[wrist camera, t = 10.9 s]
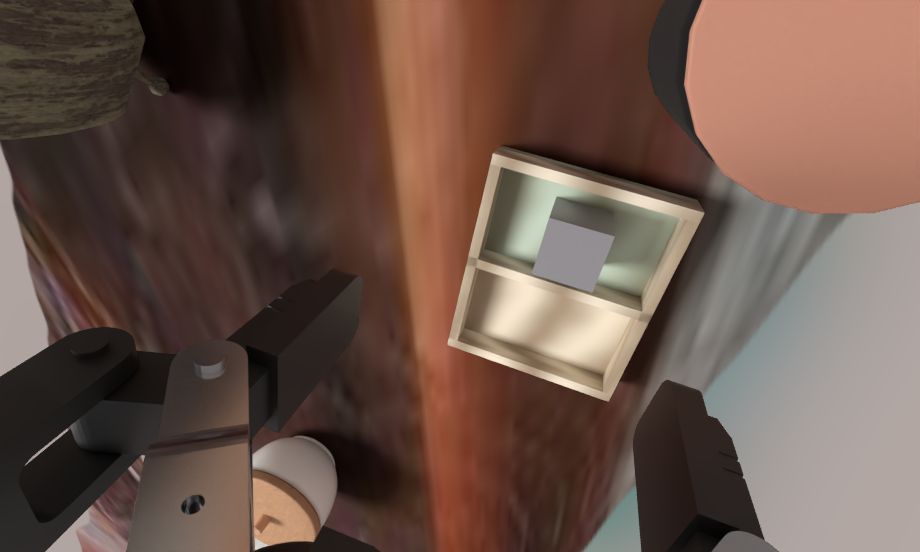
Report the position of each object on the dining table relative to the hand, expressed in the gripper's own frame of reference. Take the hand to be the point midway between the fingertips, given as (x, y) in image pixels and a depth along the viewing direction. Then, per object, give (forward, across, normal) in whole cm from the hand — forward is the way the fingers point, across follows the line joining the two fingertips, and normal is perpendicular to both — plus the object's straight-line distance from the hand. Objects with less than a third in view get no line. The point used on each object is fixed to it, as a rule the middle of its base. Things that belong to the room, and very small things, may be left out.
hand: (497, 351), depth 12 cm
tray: (+26, -3, +10) cm, 28 cm away
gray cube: (+25, -3, +6) cm, 26 cm away
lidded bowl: (+26, +19, +48) cm, 57 cm away
